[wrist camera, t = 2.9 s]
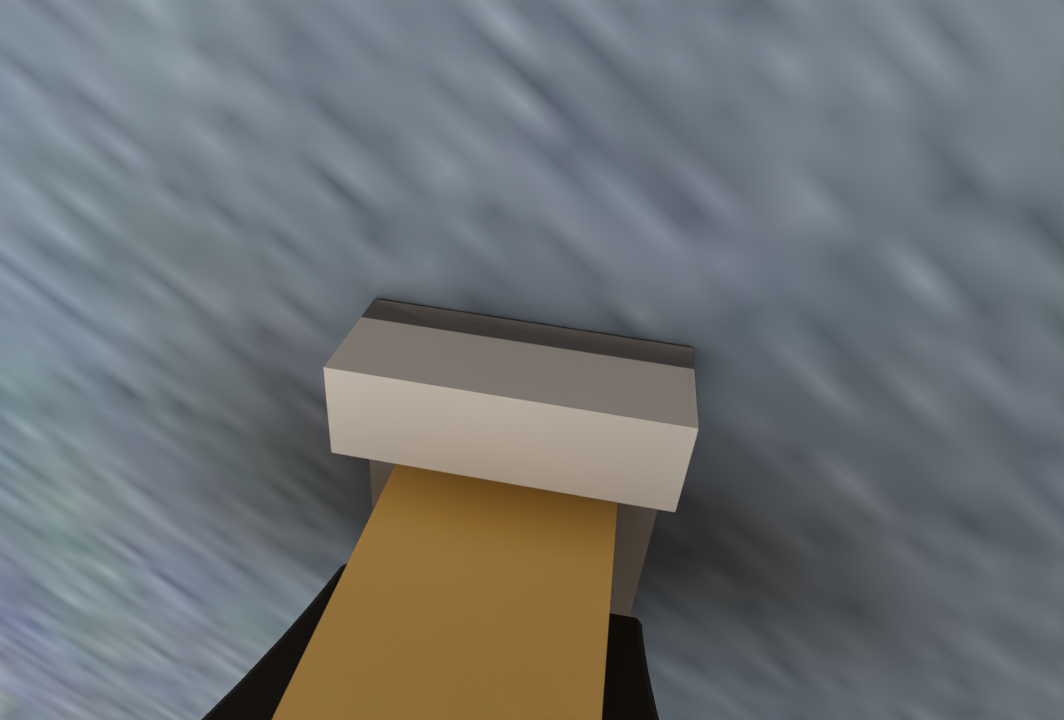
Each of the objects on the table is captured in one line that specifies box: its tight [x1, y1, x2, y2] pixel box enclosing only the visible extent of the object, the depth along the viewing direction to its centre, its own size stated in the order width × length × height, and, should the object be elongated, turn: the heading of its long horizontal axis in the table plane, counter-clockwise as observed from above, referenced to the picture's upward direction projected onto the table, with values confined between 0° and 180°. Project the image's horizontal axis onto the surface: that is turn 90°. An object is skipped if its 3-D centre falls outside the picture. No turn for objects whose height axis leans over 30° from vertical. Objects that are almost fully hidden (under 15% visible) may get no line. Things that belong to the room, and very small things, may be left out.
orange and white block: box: [272, 464, 618, 720], centre depth 10 cm, size 4×5×6 cm
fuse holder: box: [323, 299, 699, 617], centre depth 12 cm, size 5×9×2 cm, turn 175°
